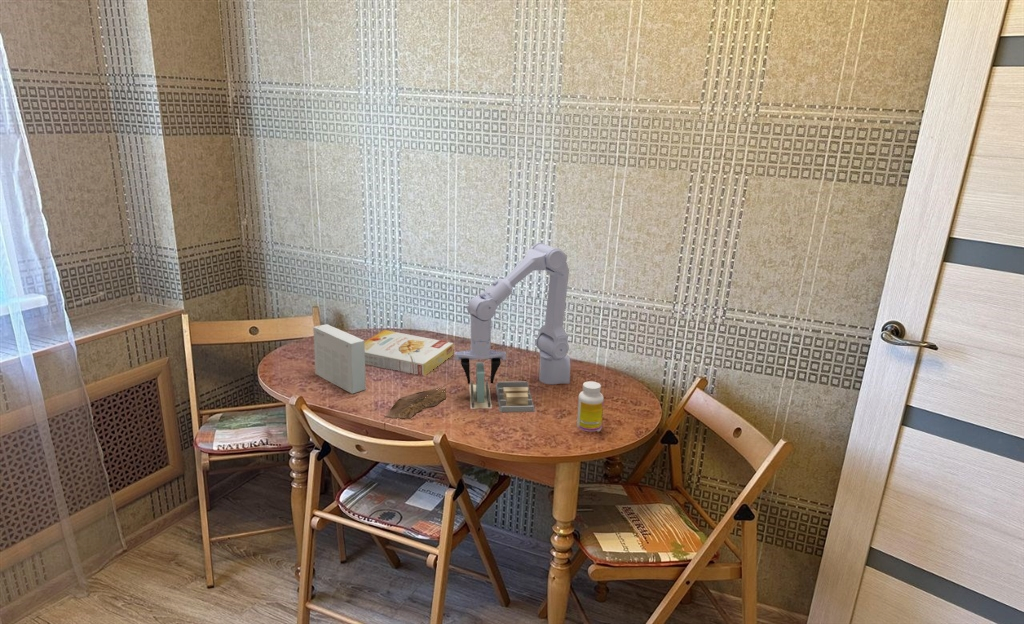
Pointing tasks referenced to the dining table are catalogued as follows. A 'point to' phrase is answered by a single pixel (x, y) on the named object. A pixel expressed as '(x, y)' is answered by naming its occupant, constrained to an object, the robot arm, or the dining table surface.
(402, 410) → the wooden fragment
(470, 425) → the dining table surface
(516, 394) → the offcut front
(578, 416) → the supplement bottle
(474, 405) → the holder
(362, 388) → the skincare box
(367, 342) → the cereal box
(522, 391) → the block
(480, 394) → the teal rectangular block
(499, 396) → the rack
